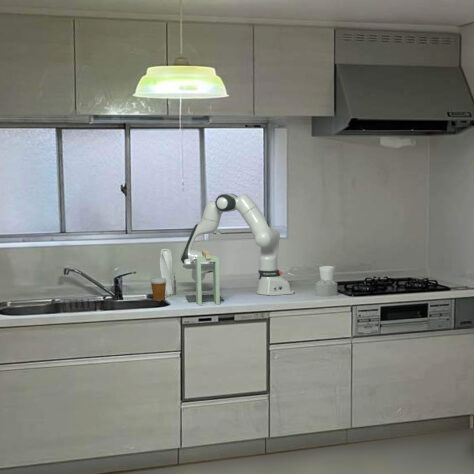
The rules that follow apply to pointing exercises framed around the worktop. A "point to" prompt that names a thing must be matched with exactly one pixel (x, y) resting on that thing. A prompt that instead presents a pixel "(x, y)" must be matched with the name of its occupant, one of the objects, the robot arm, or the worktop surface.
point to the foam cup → (326, 272)
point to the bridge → (215, 278)
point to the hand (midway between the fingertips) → (202, 258)
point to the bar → (206, 254)
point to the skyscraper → (167, 271)
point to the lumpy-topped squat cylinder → (326, 288)
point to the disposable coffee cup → (158, 288)
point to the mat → (204, 298)
